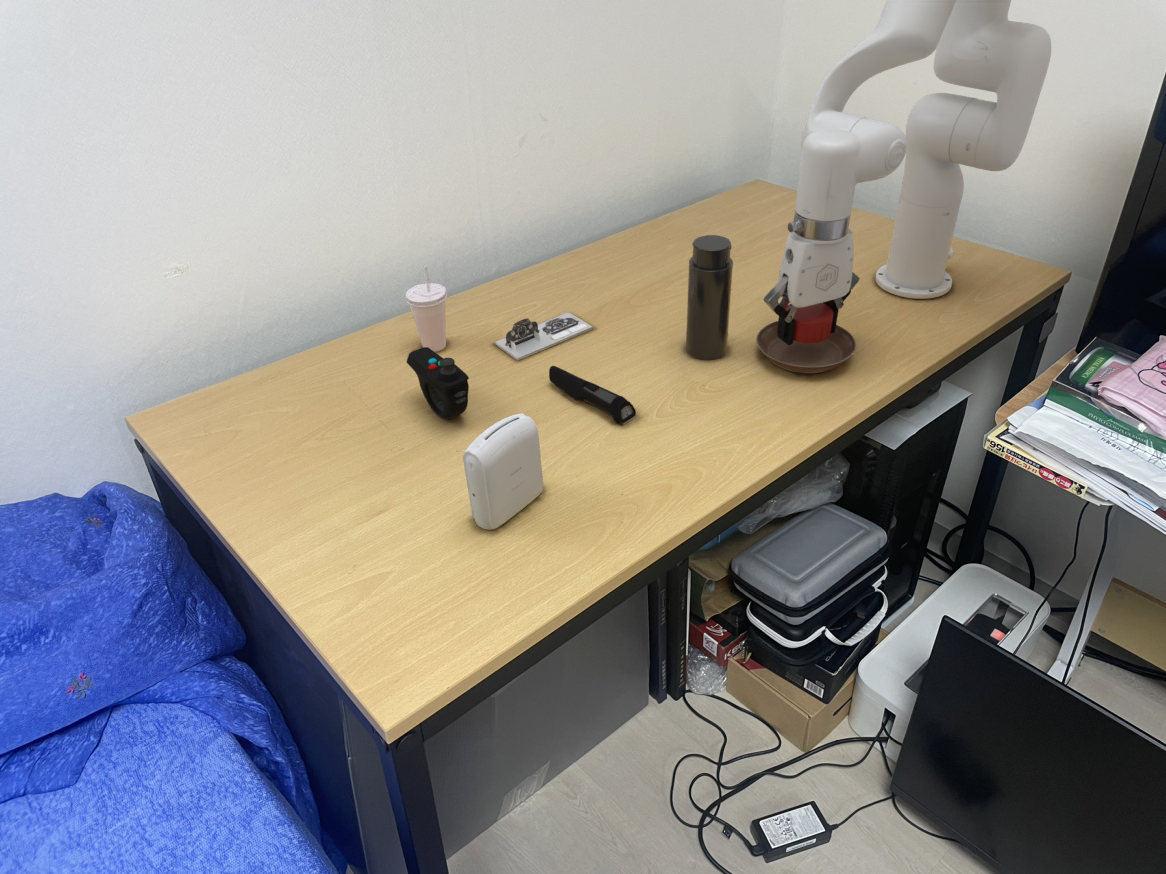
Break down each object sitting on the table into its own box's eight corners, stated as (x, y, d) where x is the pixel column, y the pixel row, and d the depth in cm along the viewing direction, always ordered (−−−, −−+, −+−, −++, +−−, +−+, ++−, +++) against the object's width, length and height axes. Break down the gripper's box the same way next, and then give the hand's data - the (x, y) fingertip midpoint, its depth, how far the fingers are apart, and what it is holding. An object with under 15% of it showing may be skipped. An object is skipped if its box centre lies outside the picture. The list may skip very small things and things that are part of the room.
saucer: (736, 360, 134) (738, 345, 132) (785, 322, 143) (787, 307, 141) (824, 393, 126) (827, 377, 124) (870, 350, 135) (873, 335, 133)
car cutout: (517, 360, 136) (515, 335, 134) (494, 344, 141) (491, 319, 138) (592, 329, 143) (592, 304, 141) (568, 314, 148) (567, 290, 145)
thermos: (703, 334, 141) (709, 229, 130) (735, 348, 137) (743, 241, 126) (677, 350, 137) (680, 243, 126) (708, 364, 133) (715, 256, 123)
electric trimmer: (562, 377, 132) (560, 359, 131) (638, 415, 123) (637, 397, 121) (544, 387, 130) (542, 369, 128) (619, 427, 121) (619, 408, 119)
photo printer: (492, 536, 104) (480, 455, 97) (467, 521, 107) (454, 441, 99) (549, 492, 111) (542, 412, 103) (524, 479, 113) (516, 400, 106)
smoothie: (447, 357, 138) (434, 277, 130) (408, 354, 139) (394, 274, 131) (459, 337, 143) (448, 258, 135) (422, 334, 144) (409, 256, 136)
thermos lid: (833, 344, 129) (836, 323, 126) (784, 343, 129) (786, 322, 127) (827, 320, 134) (831, 300, 132) (780, 319, 135) (783, 299, 133)
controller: (453, 435, 121) (443, 375, 115) (410, 398, 129) (399, 339, 123) (479, 423, 123) (471, 363, 117) (435, 387, 131) (425, 329, 125)
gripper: (784, 246, 116) (771, 360, 127) (889, 221, 121) (868, 332, 132) (753, 226, 122) (743, 337, 132) (855, 203, 127) (837, 311, 138)
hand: (806, 334), depth 132 cm, fingers closed on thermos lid, 6 cm apart
